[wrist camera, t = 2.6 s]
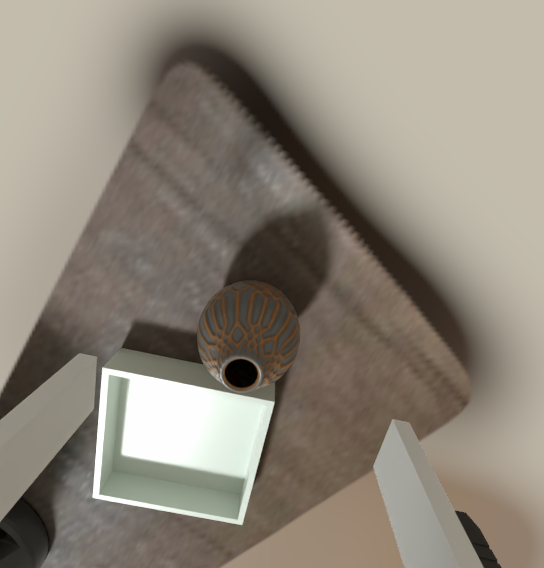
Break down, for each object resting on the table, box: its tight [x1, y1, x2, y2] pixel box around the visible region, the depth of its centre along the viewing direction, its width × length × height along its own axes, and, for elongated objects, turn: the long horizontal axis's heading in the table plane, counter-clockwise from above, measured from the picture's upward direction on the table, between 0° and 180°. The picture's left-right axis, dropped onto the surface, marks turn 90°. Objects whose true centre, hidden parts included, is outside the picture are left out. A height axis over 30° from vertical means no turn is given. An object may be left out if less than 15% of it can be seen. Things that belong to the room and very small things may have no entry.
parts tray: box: [93, 348, 275, 525], centre depth 28 cm, size 13×13×3 cm
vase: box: [197, 280, 300, 393], centre depth 22 cm, size 7×7×9 cm
